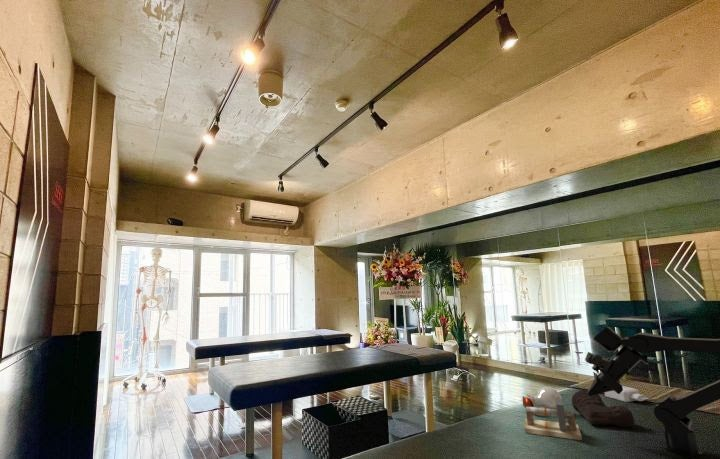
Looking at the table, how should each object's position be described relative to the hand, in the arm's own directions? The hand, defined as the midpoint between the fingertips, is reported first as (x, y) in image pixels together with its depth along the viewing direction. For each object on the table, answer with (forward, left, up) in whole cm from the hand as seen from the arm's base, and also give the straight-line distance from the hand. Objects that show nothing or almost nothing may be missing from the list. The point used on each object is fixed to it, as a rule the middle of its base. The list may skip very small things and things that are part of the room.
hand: (588, 394), depth 118 cm
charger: (+26, -47, -14) cm, 56 cm away
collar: (+6, +7, -11) cm, 14 cm away
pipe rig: (+8, +10, -13) cm, 18 cm away
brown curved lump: (+10, -15, -13) cm, 22 cm away
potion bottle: (+25, -2, -13) cm, 29 cm away
